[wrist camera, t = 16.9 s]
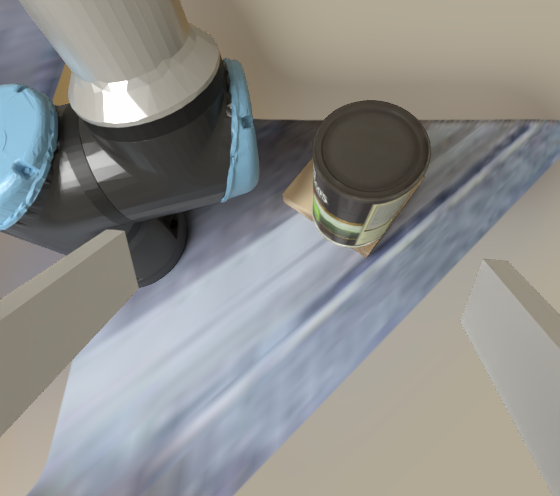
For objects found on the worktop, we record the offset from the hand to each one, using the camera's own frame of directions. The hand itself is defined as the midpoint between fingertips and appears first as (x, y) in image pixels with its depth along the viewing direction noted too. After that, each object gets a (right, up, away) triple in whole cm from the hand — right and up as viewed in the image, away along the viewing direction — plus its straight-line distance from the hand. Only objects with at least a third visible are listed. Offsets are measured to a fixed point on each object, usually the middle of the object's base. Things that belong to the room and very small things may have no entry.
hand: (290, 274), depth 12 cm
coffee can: (+9, +6, +29) cm, 31 cm away
